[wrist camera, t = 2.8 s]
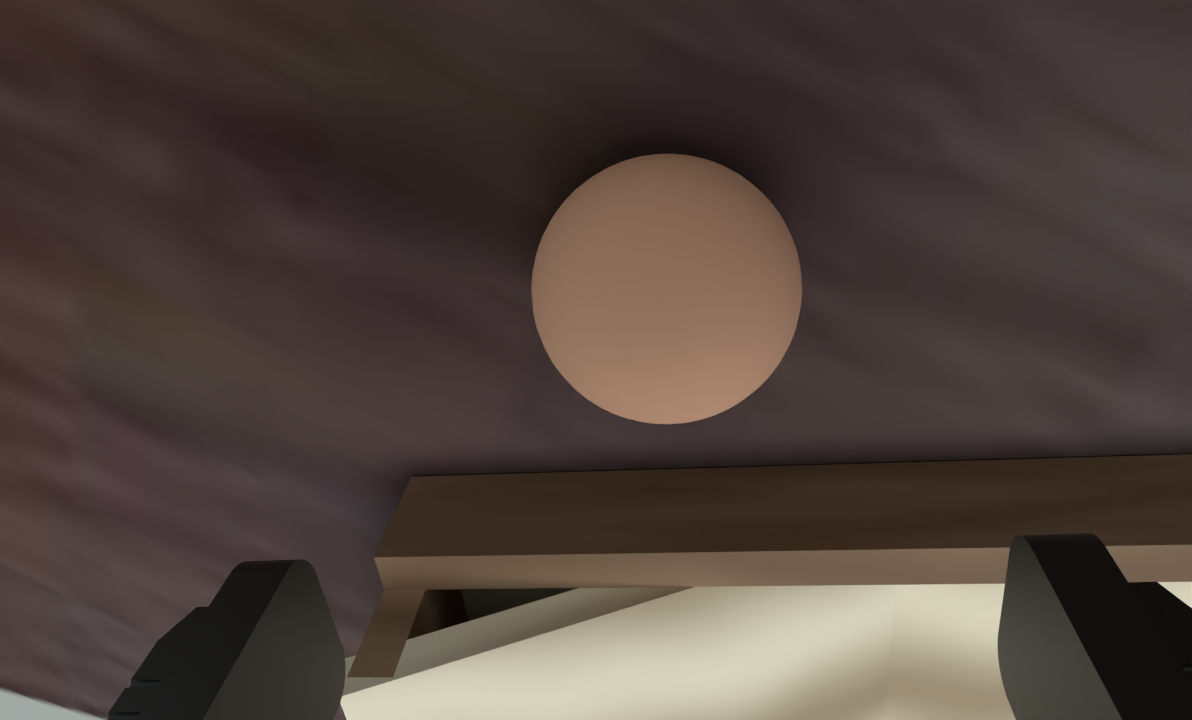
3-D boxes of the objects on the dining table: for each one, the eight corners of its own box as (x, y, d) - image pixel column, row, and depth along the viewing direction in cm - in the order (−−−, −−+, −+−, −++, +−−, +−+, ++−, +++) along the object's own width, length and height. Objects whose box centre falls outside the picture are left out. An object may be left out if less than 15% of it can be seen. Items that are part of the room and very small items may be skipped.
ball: (536, 133, 17) (485, 221, 13) (788, 112, 17) (821, 197, 12) (566, 349, 20) (532, 483, 16) (787, 338, 19) (816, 475, 15)
